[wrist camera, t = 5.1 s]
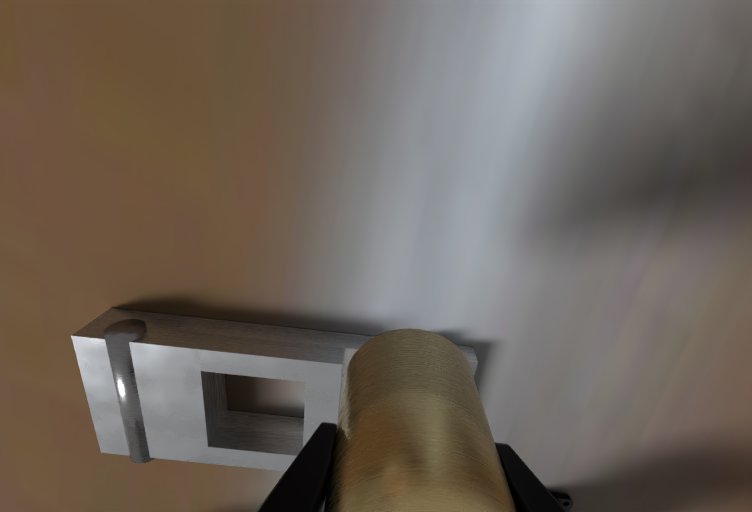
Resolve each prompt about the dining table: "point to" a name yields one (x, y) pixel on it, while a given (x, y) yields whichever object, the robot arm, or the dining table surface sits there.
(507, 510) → the brass knob
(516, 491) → the robot arm
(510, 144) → the dining table surface
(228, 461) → the silver plate
